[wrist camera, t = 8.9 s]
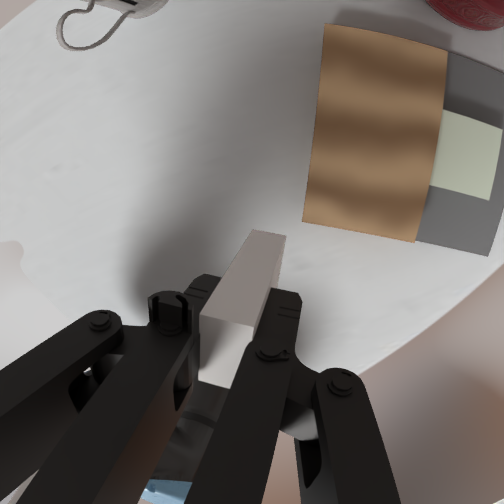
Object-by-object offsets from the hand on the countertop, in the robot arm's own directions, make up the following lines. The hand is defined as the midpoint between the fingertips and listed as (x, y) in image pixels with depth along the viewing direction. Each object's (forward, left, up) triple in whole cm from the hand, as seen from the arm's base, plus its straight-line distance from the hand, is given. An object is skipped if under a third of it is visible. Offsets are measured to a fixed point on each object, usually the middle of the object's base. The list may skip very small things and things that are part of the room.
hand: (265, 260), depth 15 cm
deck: (+6, -7, -22) cm, 24 cm away
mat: (+6, -19, -22) cm, 29 cm away
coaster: (+6, -17, -22) cm, 28 cm away
